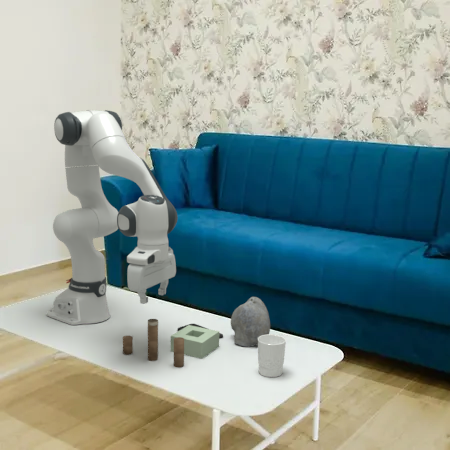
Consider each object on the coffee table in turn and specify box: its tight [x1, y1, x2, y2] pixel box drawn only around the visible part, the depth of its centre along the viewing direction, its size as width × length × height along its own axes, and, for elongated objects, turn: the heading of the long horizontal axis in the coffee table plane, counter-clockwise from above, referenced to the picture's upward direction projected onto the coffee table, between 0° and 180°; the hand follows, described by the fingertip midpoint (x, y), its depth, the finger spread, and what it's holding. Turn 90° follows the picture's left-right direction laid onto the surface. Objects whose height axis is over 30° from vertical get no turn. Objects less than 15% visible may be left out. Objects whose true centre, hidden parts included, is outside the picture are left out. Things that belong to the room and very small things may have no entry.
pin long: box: [147, 318, 159, 362], centre depth 184 cm, size 3×3×12 cm
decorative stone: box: [230, 296, 271, 348], centre depth 199 cm, size 15×10×15 cm
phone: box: [177, 323, 224, 340], centre depth 207 cm, size 8×1×15 cm
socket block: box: [170, 324, 220, 359], centre depth 193 cm, size 11×11×5 cm
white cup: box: [257, 333, 287, 378], centre depth 177 cm, size 8×8×10 cm
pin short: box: [122, 335, 134, 356], centre depth 189 cm, size 3×3×5 cm
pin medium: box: [173, 337, 185, 368], centre depth 181 cm, size 3×3×8 cm
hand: (153, 298), depth 182 cm, fingers open, 8 cm apart
